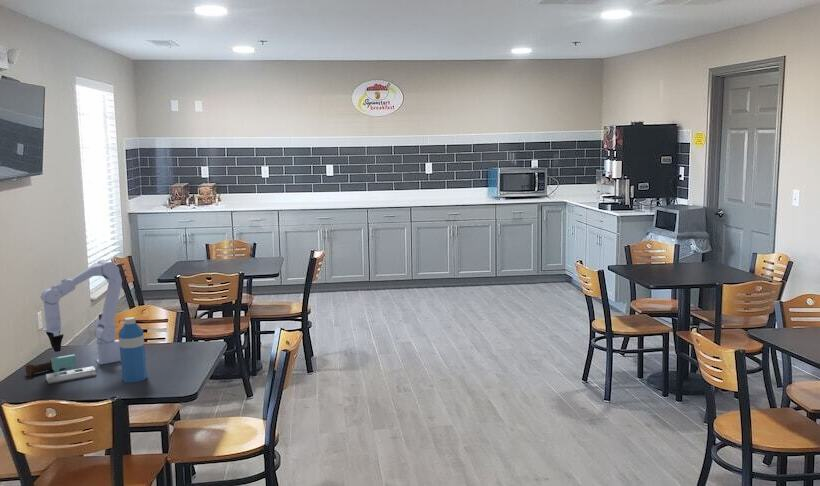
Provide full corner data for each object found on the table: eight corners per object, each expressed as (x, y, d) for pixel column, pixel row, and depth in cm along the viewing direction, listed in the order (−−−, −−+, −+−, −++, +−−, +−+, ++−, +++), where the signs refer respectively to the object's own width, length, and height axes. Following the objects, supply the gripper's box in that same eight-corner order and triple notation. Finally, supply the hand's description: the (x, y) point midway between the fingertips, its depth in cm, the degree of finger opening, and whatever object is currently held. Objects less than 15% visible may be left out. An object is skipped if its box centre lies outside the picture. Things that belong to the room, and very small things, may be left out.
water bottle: (151, 376, 312) (147, 316, 308) (136, 383, 303) (131, 321, 300) (132, 374, 315) (127, 315, 311) (117, 381, 306) (112, 320, 303)
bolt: (65, 372, 328) (29, 379, 317) (60, 364, 331) (24, 372, 320) (68, 361, 326) (31, 369, 315) (63, 354, 328) (26, 361, 317)
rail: (93, 371, 320) (93, 366, 320) (96, 375, 315) (95, 369, 315) (46, 380, 311) (45, 374, 310) (48, 384, 306) (47, 378, 305)
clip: (75, 369, 325) (74, 354, 324) (76, 370, 323) (75, 355, 322) (52, 373, 320) (51, 358, 320) (53, 374, 318) (51, 359, 317)
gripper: (40, 315, 322) (43, 347, 324) (44, 322, 310) (47, 355, 312) (58, 313, 326) (61, 344, 328) (63, 319, 314) (66, 351, 316)
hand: (56, 349), depth 320 cm, fingers open, 7 cm apart
